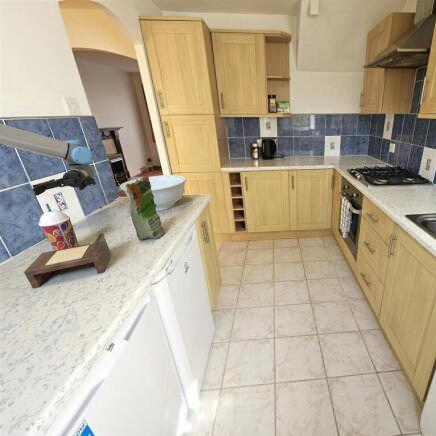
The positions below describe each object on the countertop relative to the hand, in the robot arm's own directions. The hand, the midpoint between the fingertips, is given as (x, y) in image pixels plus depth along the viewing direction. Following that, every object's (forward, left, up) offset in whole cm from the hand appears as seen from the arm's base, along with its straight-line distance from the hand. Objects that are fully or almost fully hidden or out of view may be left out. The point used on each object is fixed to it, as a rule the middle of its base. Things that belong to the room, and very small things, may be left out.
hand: (58, 189), depth 93 cm
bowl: (+30, +29, -22) cm, 47 cm away
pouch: (+28, -11, -22) cm, 37 cm away
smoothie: (0, -12, -22) cm, 25 cm away
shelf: (+6, -27, -22) cm, 35 cm away
